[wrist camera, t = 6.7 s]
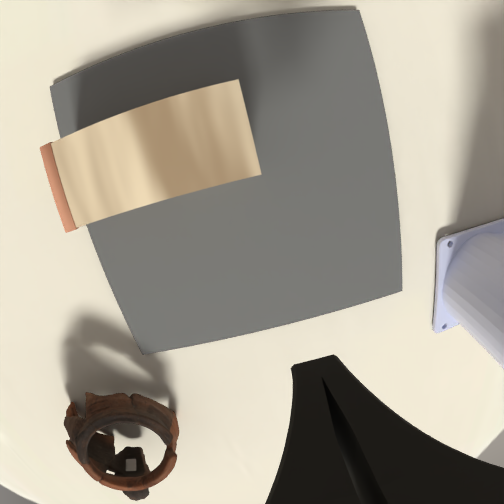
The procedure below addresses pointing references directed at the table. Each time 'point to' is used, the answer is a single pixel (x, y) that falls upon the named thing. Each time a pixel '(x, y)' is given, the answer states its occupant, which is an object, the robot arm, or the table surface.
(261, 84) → the charcoal mat
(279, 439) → the table surface
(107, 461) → the brown curved piece
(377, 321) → the table surface
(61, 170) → the maple block
